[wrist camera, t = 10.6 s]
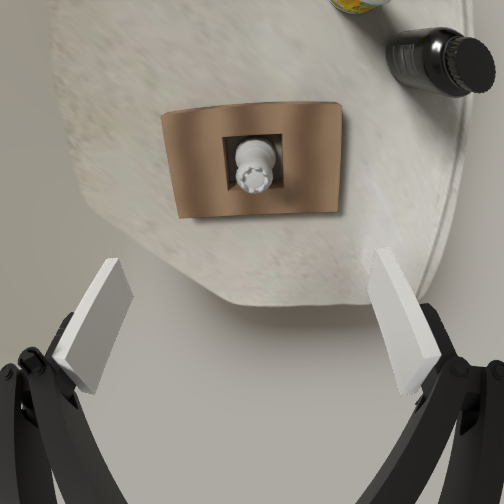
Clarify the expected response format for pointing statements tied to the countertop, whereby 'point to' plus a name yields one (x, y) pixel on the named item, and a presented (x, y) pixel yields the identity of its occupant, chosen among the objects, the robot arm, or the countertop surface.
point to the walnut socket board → (254, 123)
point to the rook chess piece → (255, 164)
